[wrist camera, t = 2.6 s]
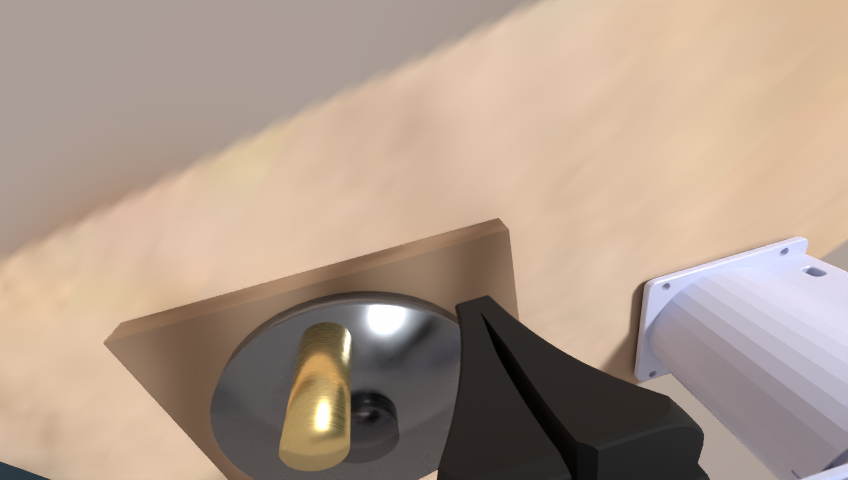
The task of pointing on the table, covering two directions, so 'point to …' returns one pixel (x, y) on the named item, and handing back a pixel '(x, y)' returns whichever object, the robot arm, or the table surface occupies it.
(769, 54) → the table surface
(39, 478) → the watch
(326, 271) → the base board
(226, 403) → the handwheel
